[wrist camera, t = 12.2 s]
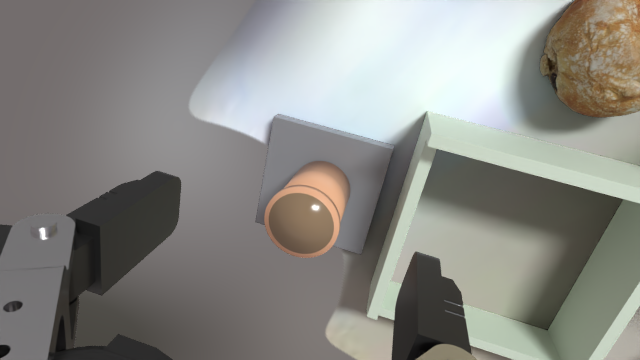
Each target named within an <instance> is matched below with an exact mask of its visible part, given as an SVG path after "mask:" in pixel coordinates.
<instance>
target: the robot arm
mask: <svg viewBox="0 0 640 360" xmlns="http://www.w3.org/2000/svg"><path fill="white" fill-rule="evenodd" d="M180 193H181V180H180V179H179V177H176V176H173V175H169V174H166V173H163V172H160V171H155V172H153V173H151V174H150V175H148V176H146V177H145V178H143V179H141V180H135V181H131V182H128V183H124V184H121V185H119V186H117V187H115V188H114V189H112V190H110V191H109V193H108V192H106V193H105V194H103V195H101V196H100V197H99V198H96V199H94V200H92V201H90V202H89V203H87V204H85V205H83V206H82V207H80V208H78V209H76V210H75V211H73V212H71V213H69V214H67V215H66V216H65V215H62V214H54V213H45V214H37V215H32V216H29V217H26V218H24V219H21V220H20V221H18V222H17V223H15V224H14V225H13V226H9V225H0V360H172V359H171V358H170V357H168V356H167V355H165V354H164V353H163V352H161V351H160V350H159V349H157V348H155V347H152V346H150V345H147V344H144V343H141V342H138V341H136V340H133V339H130V338H127V337H125V336H122V335H120V334H118V335H117V336H116V337H115V338H114V339H113V341H111V342H110V344H109V345H108V346H86V347H77V348H74V346H75V338H76V329H77V320H78V311H79V295H80V294H81V293H82V292H84V291H85V290H87V291H90V292H93V293H96V294H99V295H103V294H104V293H105V292H106V291H107V290H109V289H110V288H111V287H112V286H113V285H114V284H115V283H117V282H118V281H119V280H120V279H121V278H122V277H123V276H124V275H126V274H127V273H128V272H129V271H130V270H131V269H132V268H134V267H135V266H136V265H137V264H138V263H139V262H140V261H141V260H143V259H144V258H145V257H146V256H147V255H148V254H149V253H150V252H152V251H153V250H154V249H155V248H156V247H157V246H158V245H159V244H161V243H162V242H163V241H164V240H165V239H166V238H167V237H168V236H170V235H171V234H172V232H173V231H174V229H175V227H176V225H177V222H178V218H179V206H180ZM392 360H477V359H476V358H475V357H474V356H472V354H471V348H470V342H469V336H468V330H467V324H466V318H465V313H464V308H463V301H462V295H461V292H460V290H459V289H458V287H457V286H456V284H455V283H454V281H453V280H452V279H449V278H446V277H442V276H441V267H440V260H439V259H438V258H435V257H432V256H429V255H426V254H422V253H419V252H415V253H414V255H413V257H412V259H411V262H410V265H409V267H408V270H407V272H406V275H405V277H404V280H403V283H402V285H401V288H400V290H399V293H398V297H397V301H396V306H395V317H394V332H393V347H392Z"/></svg>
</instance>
